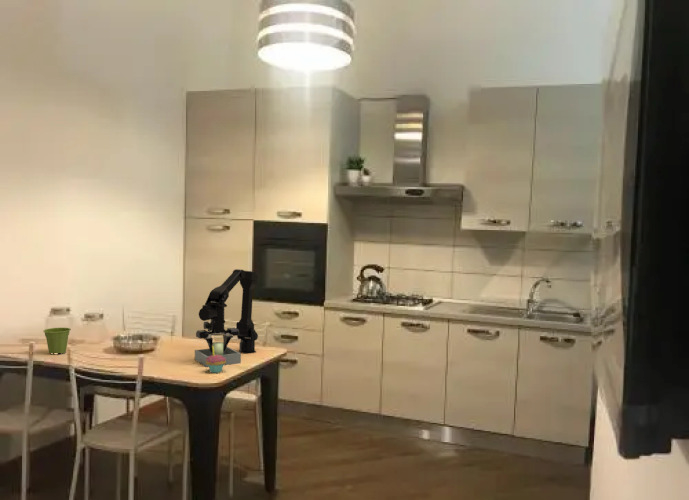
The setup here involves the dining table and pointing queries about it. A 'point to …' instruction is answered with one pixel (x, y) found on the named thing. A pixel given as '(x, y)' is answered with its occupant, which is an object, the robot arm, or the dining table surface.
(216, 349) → the green cylinder
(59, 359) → the dining table surface
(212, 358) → the cupcake
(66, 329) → the plant pot
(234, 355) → the serving tray
